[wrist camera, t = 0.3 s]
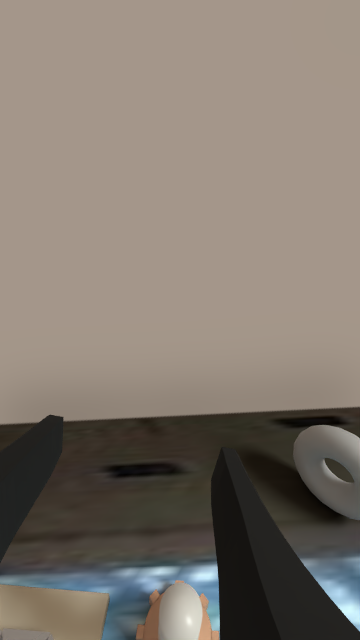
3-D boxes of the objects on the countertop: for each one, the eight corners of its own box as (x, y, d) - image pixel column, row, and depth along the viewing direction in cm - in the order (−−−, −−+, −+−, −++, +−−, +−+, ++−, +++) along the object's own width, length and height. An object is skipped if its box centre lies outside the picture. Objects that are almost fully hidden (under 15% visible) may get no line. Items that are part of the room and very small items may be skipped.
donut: (279, 475, 33) (298, 415, 29) (293, 461, 36) (312, 402, 32) (368, 550, 27) (408, 484, 23) (379, 527, 29) (417, 463, 25)
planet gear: (221, 716, 17) (231, 690, 15) (128, 708, 17) (126, 680, 15) (214, 590, 23) (220, 559, 21) (143, 584, 23) (143, 553, 21)
